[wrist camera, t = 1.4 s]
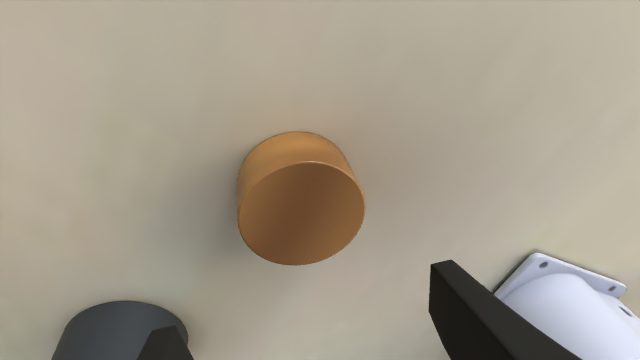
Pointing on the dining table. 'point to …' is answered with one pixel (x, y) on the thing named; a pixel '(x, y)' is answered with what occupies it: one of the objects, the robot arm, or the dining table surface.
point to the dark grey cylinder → (113, 331)
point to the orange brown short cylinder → (298, 199)
